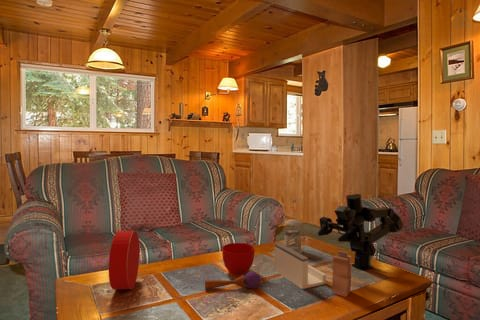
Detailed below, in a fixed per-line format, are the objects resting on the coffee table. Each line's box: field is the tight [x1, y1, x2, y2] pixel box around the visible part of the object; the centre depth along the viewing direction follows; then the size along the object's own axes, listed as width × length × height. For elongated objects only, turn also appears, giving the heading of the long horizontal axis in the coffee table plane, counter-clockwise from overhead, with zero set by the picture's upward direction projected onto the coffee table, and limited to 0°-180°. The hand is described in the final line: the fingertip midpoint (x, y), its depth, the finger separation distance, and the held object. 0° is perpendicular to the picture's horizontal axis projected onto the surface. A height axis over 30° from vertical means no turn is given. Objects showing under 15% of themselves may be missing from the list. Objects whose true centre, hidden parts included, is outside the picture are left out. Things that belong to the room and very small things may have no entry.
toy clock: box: [108, 230, 140, 290], centre depth 121 cm, size 20×6×20 cm, turn 5°
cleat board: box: [273, 242, 327, 290], centre depth 132 cm, size 11×19×11 cm, turn 26°
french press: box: [283, 199, 308, 254], centre depth 162 cm, size 10×12×25 cm
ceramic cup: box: [221, 242, 256, 276], centre depth 138 cm, size 13×17×10 cm
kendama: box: [204, 270, 262, 291], centre depth 121 cm, size 6×6×20 cm
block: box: [331, 250, 353, 298], centre depth 119 cm, size 5×5×15 cm
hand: (328, 237), depth 127 cm, fingers open, 9 cm apart
